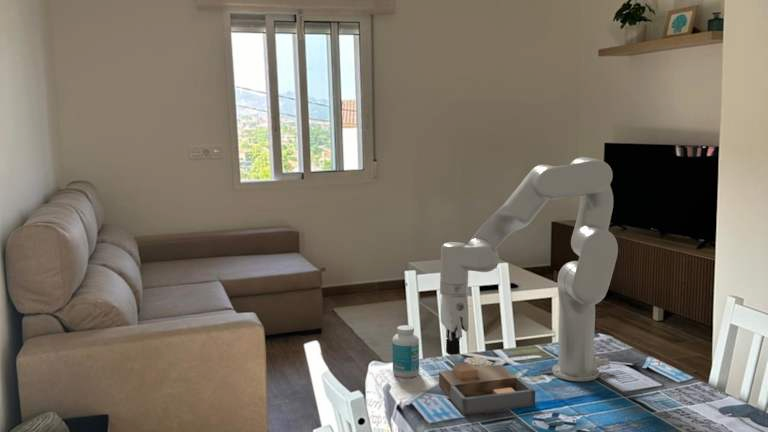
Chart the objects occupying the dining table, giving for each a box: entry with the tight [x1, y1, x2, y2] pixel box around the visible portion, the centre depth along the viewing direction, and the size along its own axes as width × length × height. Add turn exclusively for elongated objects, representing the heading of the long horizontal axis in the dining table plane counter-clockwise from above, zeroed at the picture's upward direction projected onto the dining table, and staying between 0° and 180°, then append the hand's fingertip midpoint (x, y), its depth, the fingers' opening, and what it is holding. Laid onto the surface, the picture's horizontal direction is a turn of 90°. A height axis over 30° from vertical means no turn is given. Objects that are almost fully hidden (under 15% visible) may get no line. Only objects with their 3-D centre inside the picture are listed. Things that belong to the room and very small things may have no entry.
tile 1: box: [452, 362, 478, 379], centre depth 183 cm, size 5×5×2 cm
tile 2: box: [493, 388, 515, 394], centre depth 175 cm, size 5×5×2 cm
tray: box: [449, 377, 536, 416], centre depth 174 cm, size 19×9×4 cm, turn 105°
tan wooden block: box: [438, 364, 518, 399], centre depth 183 cm, size 18×10×4 cm, turn 105°
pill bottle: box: [392, 324, 420, 379], centre depth 194 cm, size 8×7×14 cm
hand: (452, 353), depth 190 cm, fingers closed
